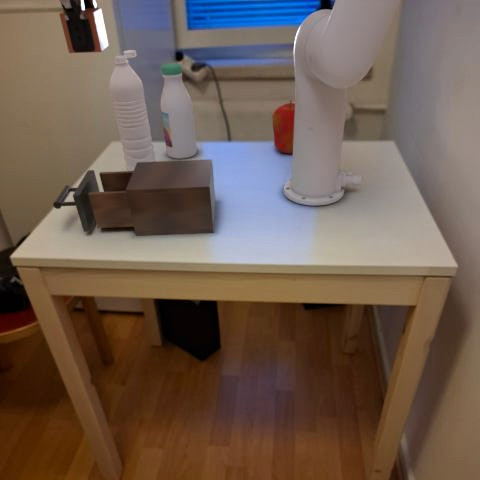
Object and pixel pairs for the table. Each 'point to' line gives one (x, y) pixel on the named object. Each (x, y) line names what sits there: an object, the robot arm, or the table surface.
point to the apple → (284, 127)
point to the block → (96, 29)
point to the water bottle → (131, 112)
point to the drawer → (100, 200)
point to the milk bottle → (177, 114)
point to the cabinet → (172, 197)
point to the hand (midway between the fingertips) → (89, 46)
